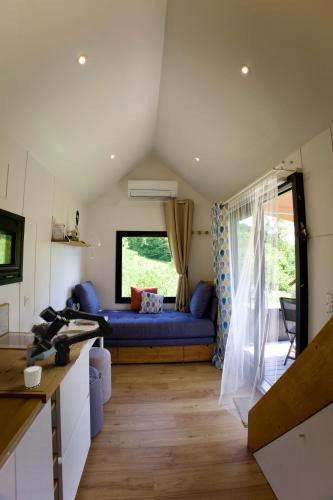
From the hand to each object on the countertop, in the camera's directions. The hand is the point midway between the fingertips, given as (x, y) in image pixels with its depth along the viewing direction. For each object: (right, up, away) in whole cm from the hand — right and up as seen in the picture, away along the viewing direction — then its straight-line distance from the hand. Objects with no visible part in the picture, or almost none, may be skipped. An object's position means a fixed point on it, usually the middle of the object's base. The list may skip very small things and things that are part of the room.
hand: (29, 354), depth 122 cm
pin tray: (-4, -9, +20) cm, 22 cm away
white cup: (+9, -8, -14) cm, 18 cm away
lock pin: (+1, -8, 0) cm, 8 cm away
